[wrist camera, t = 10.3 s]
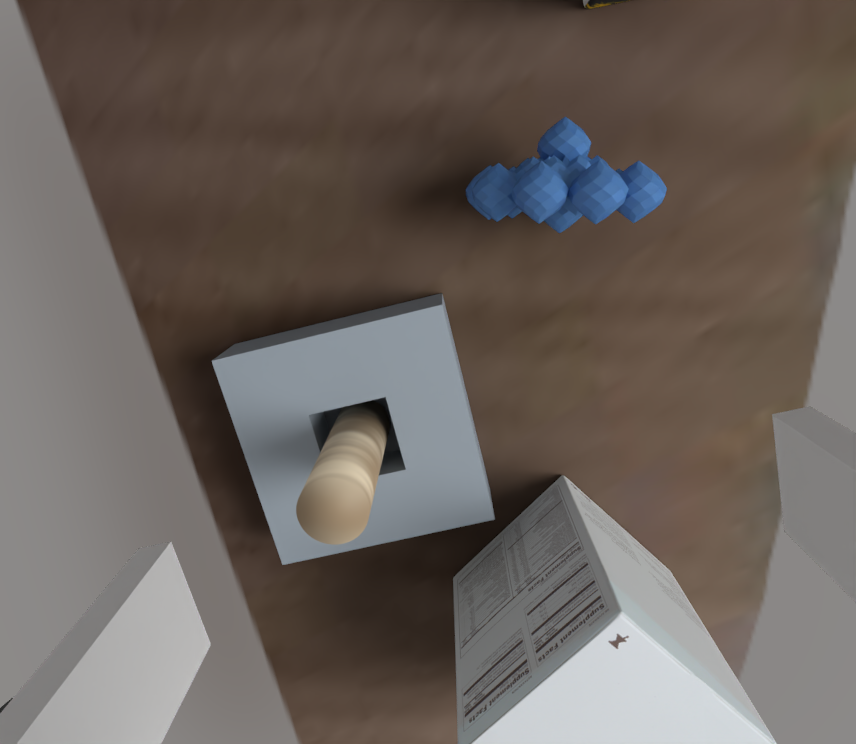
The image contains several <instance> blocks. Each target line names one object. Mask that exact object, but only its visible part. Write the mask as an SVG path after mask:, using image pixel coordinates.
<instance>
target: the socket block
mask: <svg viewBox="0 0 856 744" xmlns="http://www.w3.org/2000/svg"><path fill="white" fill-rule="evenodd" d="M212 364H213V367H214V370H215V372H216V375H217V378H218V381H219V384H220V387H221V390H222V392H223V395H224V398H225V401H226V404H227V407H228V410H229V413H230V415H231V418H232V421H233V424H234V427H235V430H236V433H237V436H238V438H239V441H240V444H241V447H242V450H243V453H244V456H245V458H246V461H247V464H248V467H249V470H250V473H251V476H252V479H253V481H254V484H255V487H256V490H257V493H258V496H259V499H260V502H261V504H262V507H263V510H264V513H265V516H266V519H267V522H268V524H269V527H270V530H271V533H272V536H273V539H274V542H275V545H276V547H277V550H278V553H279V556H280V559H281V562H282V565H285V564H290V563H294V562H299V561H304V560H308V559H313V558H318V557H322V556H327V555H332V554H336V553H341V552H346V551H350V550H355V549H360V548H364V547H369V546H374V545H378V544H383V543H388V542H392V541H397V540H402V539H406V538H411V537H416V536H420V535H425V534H430V533H434V532H439V531H444V530H448V529H453V528H458V527H462V526H467V525H472V524H476V523H481V522H486V521H490V520H495V516H494V510H493V504H492V498H491V492H490V487H489V483H488V479H487V475H486V471H485V467H484V462H483V458H482V454H481V450H480V446H479V442H478V438H477V434H476V430H475V426H474V422H473V418H472V413H471V409H470V405H469V401H468V397H467V393H466V389H465V385H464V381H463V377H462V373H461V368H460V364H459V360H458V356H457V352H456V348H455V344H454V340H453V336H452V332H451V328H450V324H449V319H448V315H447V311H446V307H445V303H444V299H443V295H442V293H440V294H436V295H432V296H428V297H424V298H420V299H416V300H412V301H408V302H404V303H400V304H396V305H392V306H388V307H383V308H379V309H375V310H371V311H367V312H363V313H359V314H355V315H351V316H347V317H343V318H339V319H335V320H330V321H326V322H322V323H318V324H314V325H310V326H306V327H302V328H298V329H294V330H290V331H286V332H282V333H278V334H273V335H269V336H265V337H261V338H257V339H253V340H249V341H245V342H241V343H237V344H234V345H232V346H231V347H230V348H228V349H227V350H226V351H224V352H223V353H222V354H220V355H219V356H217V357H216V358H215V359H213V360H212ZM371 400H374V401H376V402H378V403H379V404H381V405H382V406H383V407H384V408H385V410H386V411H387V413H388V415H389V418H390V430H389V434H388V438H387V442H386V447H385V451H384V455H383V460H382V464H381V468H380V472H379V477H378V481H377V485H376V489H375V494H374V498H373V502H372V506H371V511H370V515H369V519H368V523H367V525H366V527H365V529H364V531H363V532H362V533H361V534H360V535H359V536H358V537H357V538H355V539H354V540H352V541H350V542H347V543H344V544H338V545H332V544H325V543H322V542H319V541H317V540H315V539H313V538H312V537H310V536H309V535H308V534H307V533H306V532H305V531H304V530H303V529H302V527H301V526H300V524H299V521H298V519H297V514H296V506H297V501H298V498H299V496H300V494H301V492H302V490H303V488H304V486H305V484H306V481H307V479H308V477H309V475H310V473H311V471H312V469H313V467H314V465H315V463H316V461H317V458H318V456H319V454H320V452H321V450H322V448H323V446H324V444H325V442H326V440H327V438H328V435H329V433H330V431H331V429H332V427H333V425H334V423H335V421H336V419H337V417H338V415H339V413H340V411H341V409H342V408H343V407H345V406H350V405H354V404H358V403H362V402H367V401H371Z"/></svg>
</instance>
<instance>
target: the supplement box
mask: <svg viewBox="0 0 856 744" xmlns="http://www.w3.org/2000/svg"><path fill="white" fill-rule="evenodd" d="M453 593H454V622H455V654H456V690H457V726H458V744H777V743H776V742H775V740H774V738H773V737H772V735H771V734H770V732H769V730H768V729H767V727H766V726H765V724H764V723H763V721H762V719H761V717H760V716H759V714H758V712H757V711H756V709H755V707H754V706H753V704H752V702H751V701H750V699H749V698H748V696H747V694H746V692H745V691H744V689H743V688H742V686H741V684H740V683H739V681H738V680H737V678H736V676H735V675H734V673H733V672H732V670H731V668H730V667H729V665H728V664H727V662H726V660H725V659H724V657H723V656H722V654H721V652H720V651H719V649H718V647H717V646H716V644H715V643H714V641H713V639H712V638H711V636H710V634H709V633H708V631H707V630H706V628H705V626H704V625H703V623H702V621H701V620H700V618H699V617H698V615H697V613H696V612H695V610H694V609H693V607H692V605H691V604H690V602H689V601H688V599H687V597H686V596H685V594H684V592H683V591H682V589H681V587H680V586H679V584H678V583H677V581H676V579H675V578H674V576H673V574H672V573H671V572H670V570H669V569H668V568H666V567H665V566H664V565H663V564H662V563H661V562H660V561H659V560H658V559H657V558H655V557H654V556H653V555H652V554H651V553H650V552H649V551H648V550H647V549H645V548H644V547H643V546H642V545H641V544H640V543H639V542H638V541H637V540H635V539H634V538H633V537H632V536H631V535H630V534H629V533H628V532H627V531H625V530H624V529H623V528H622V527H621V526H620V525H619V524H618V523H616V522H615V521H614V520H613V519H612V518H611V517H610V516H609V515H608V514H606V513H605V512H604V511H603V510H602V509H601V508H600V507H599V506H597V505H596V504H595V503H594V502H593V501H592V500H591V499H590V498H589V497H587V496H586V495H585V494H584V493H583V492H582V491H581V490H580V489H579V488H577V487H576V486H575V485H574V484H573V483H572V482H571V481H570V480H569V479H568V478H566V477H565V476H563V475H562V476H560V477H559V478H558V479H557V480H556V481H555V482H554V483H553V484H552V485H551V486H550V487H549V488H548V489H547V490H546V491H545V492H543V493H542V494H541V495H540V496H539V497H538V498H537V499H536V500H535V501H534V502H533V503H532V504H531V505H530V506H528V507H527V508H526V509H525V510H524V511H523V512H522V513H521V514H520V515H519V516H518V517H517V518H516V519H515V520H514V521H512V522H511V523H510V524H509V525H508V526H507V527H506V528H505V529H504V530H503V531H502V532H501V533H500V534H499V535H497V536H496V537H495V538H494V539H493V540H492V541H491V542H490V543H489V544H488V545H487V546H486V547H485V548H484V549H483V550H482V551H480V552H479V553H478V554H477V555H476V556H475V557H474V558H473V559H472V560H471V561H470V562H469V563H468V564H467V565H466V566H465V567H463V568H462V569H461V570H460V571H459V572H458V573H457V574H456V575H455V576H454V578H453Z"/></svg>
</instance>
